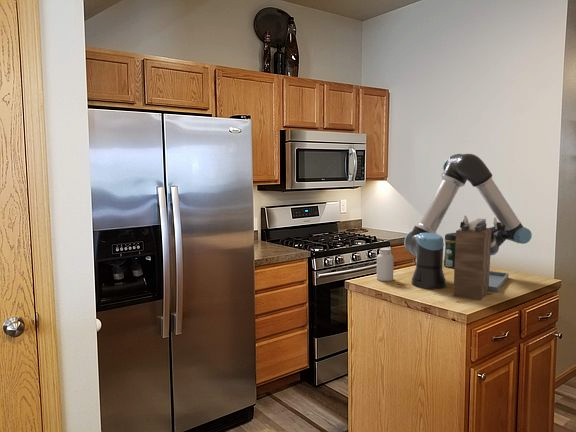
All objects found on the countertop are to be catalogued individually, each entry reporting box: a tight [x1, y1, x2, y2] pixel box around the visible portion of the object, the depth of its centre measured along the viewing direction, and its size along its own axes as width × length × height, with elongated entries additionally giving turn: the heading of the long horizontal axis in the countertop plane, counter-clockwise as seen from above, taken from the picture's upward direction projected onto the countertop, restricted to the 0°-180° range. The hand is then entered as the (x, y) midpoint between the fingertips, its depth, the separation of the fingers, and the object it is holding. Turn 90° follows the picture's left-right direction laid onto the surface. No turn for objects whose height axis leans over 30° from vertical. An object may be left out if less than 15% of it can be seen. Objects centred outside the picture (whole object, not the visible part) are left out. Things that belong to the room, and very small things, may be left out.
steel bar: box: [468, 218, 487, 231], centre depth 199 cm, size 20×3×3 cm, turn 146°
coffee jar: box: [443, 232, 456, 269], centre depth 248 cm, size 10×8×19 cm
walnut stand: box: [452, 222, 492, 301], centre depth 196 cm, size 16×11×30 cm
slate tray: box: [488, 270, 509, 293], centre depth 217 cm, size 31×18×2 cm, turn 146°
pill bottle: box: [376, 247, 395, 282], centre depth 221 cm, size 8×8×15 cm
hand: (479, 219), depth 202 cm, fingers open, 12 cm apart
